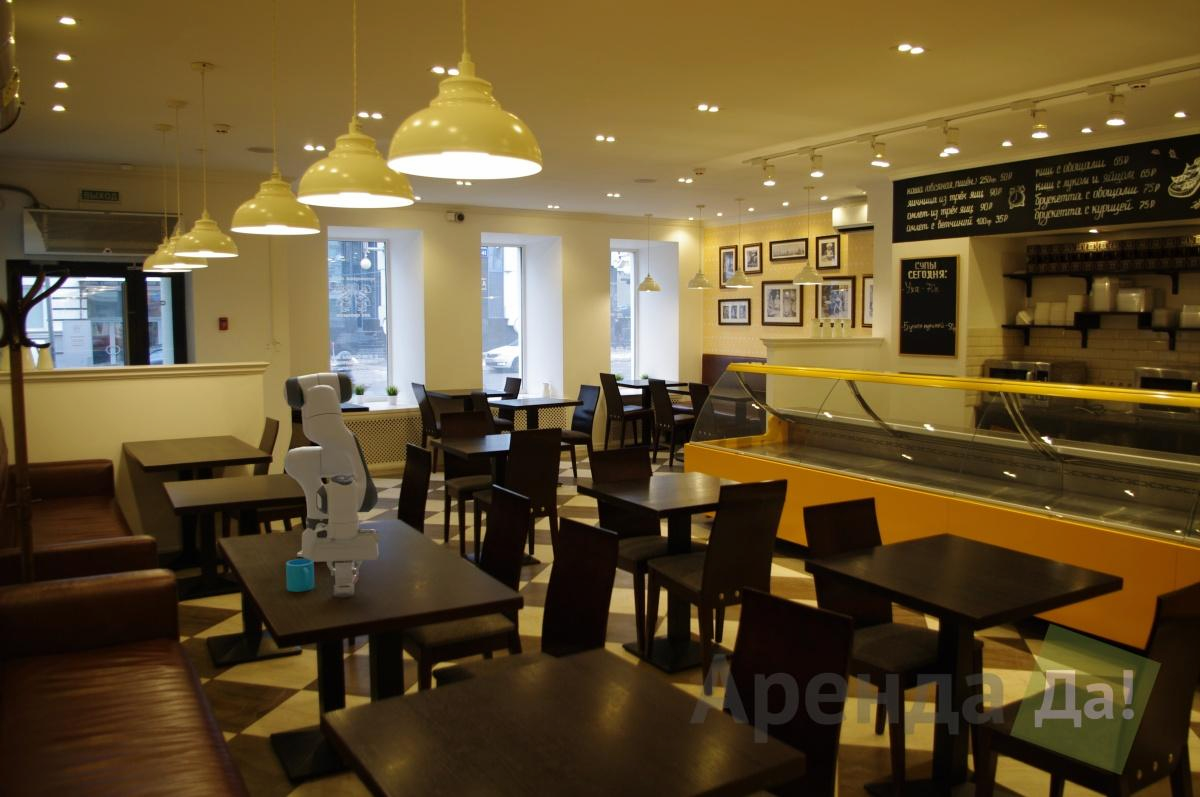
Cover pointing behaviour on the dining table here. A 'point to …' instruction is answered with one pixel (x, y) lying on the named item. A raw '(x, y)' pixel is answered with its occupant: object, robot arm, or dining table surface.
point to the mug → (300, 575)
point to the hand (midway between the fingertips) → (344, 574)
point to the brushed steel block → (344, 572)
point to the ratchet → (345, 589)
